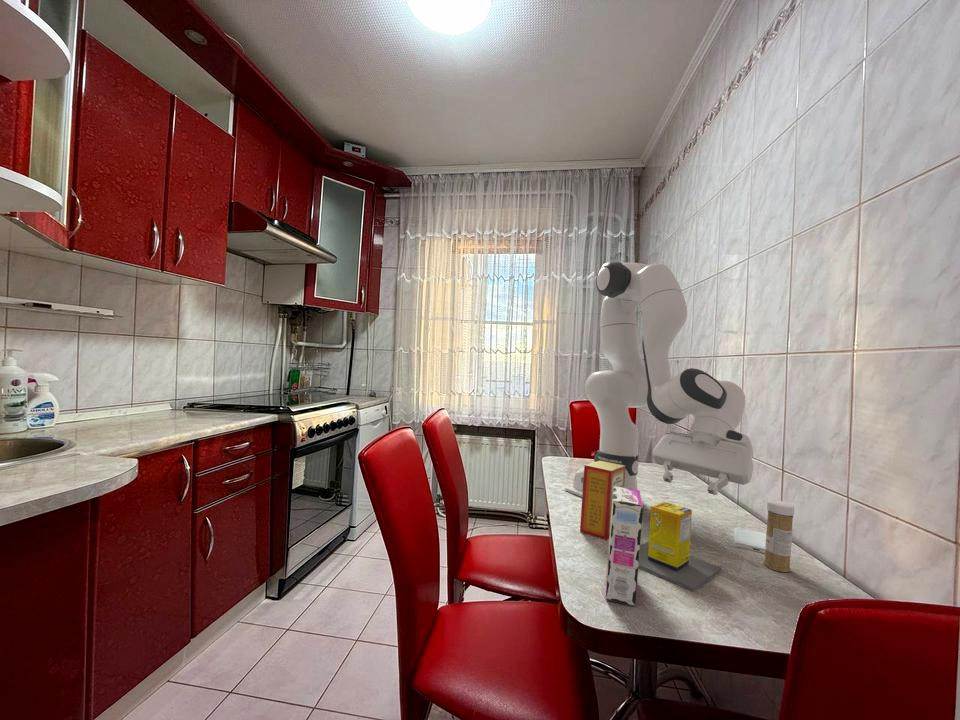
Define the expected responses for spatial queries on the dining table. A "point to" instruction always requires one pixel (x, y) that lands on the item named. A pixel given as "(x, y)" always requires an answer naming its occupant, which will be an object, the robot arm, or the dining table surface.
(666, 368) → the robot arm
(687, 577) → the mat
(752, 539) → the hard drive
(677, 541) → the supplement box
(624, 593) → the candy bar box
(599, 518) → the baking soda box
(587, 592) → the dining table surface
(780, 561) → the sprinkles bottle
